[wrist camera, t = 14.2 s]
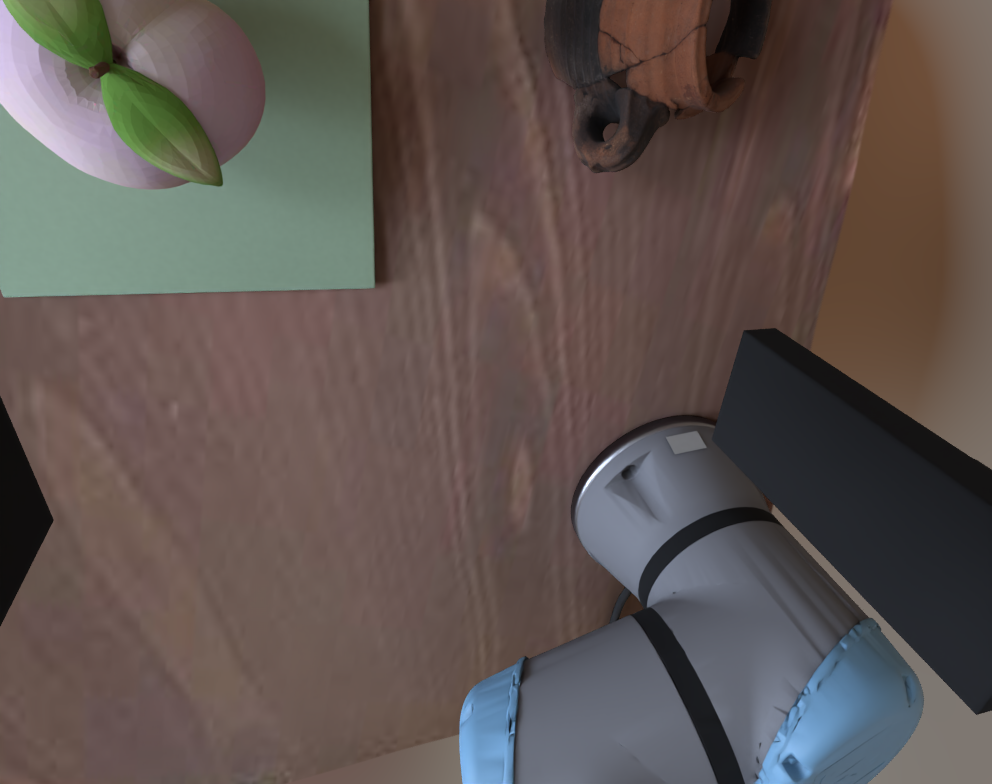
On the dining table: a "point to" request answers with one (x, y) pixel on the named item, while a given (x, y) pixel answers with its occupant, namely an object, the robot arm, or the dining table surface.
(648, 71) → the pottery mug
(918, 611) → the robot arm
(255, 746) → the dining table surface
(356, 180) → the placemat
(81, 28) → the decorative fruit
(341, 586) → the dining table surface
